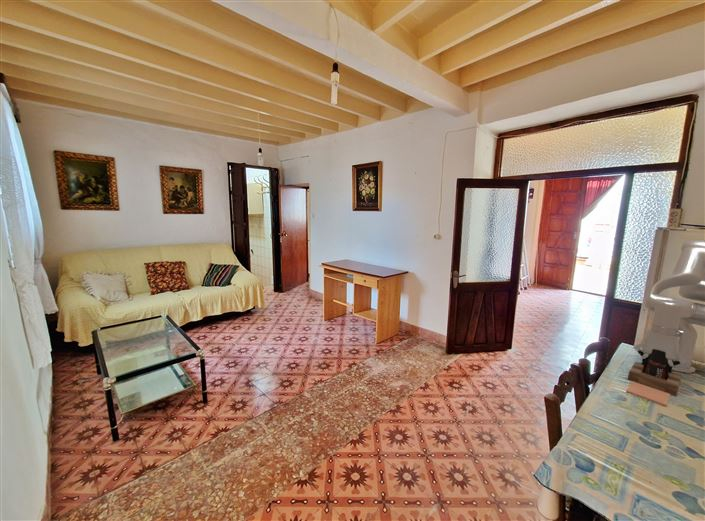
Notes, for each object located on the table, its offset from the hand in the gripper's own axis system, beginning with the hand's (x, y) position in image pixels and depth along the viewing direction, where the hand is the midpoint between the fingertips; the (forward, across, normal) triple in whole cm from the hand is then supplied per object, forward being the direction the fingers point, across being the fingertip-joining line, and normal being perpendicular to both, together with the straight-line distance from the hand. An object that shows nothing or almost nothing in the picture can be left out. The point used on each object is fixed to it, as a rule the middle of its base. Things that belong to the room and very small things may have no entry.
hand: (655, 369), depth 122 cm
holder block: (+6, 0, 0) cm, 6 cm away
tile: (+6, 0, +14) cm, 15 cm away
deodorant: (+6, 0, 0) cm, 6 cm away
